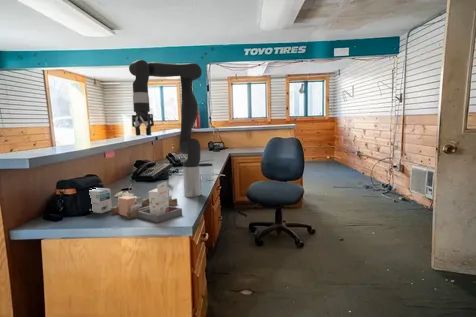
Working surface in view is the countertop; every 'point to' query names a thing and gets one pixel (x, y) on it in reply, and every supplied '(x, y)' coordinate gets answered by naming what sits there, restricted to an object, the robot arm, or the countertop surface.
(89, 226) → the countertop surface
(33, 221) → the countertop surface
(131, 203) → the terracotta block
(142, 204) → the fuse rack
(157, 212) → the ink cartridge box
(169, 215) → the tray
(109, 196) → the light bulb box
